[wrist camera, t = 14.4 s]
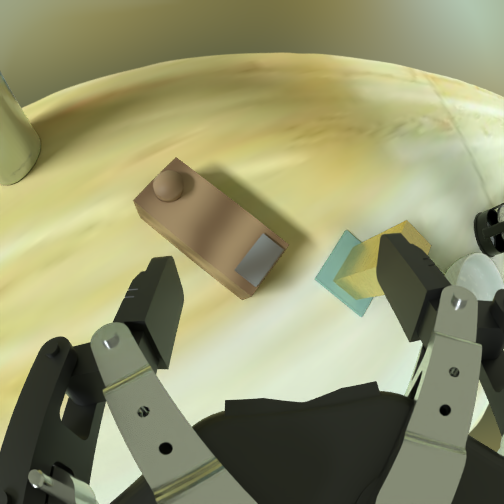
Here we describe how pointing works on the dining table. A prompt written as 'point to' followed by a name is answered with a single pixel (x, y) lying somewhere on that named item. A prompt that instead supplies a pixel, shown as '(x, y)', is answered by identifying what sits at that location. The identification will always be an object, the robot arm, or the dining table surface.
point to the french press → (490, 231)
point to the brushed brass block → (371, 263)
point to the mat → (332, 269)
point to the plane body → (210, 228)
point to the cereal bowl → (476, 275)
